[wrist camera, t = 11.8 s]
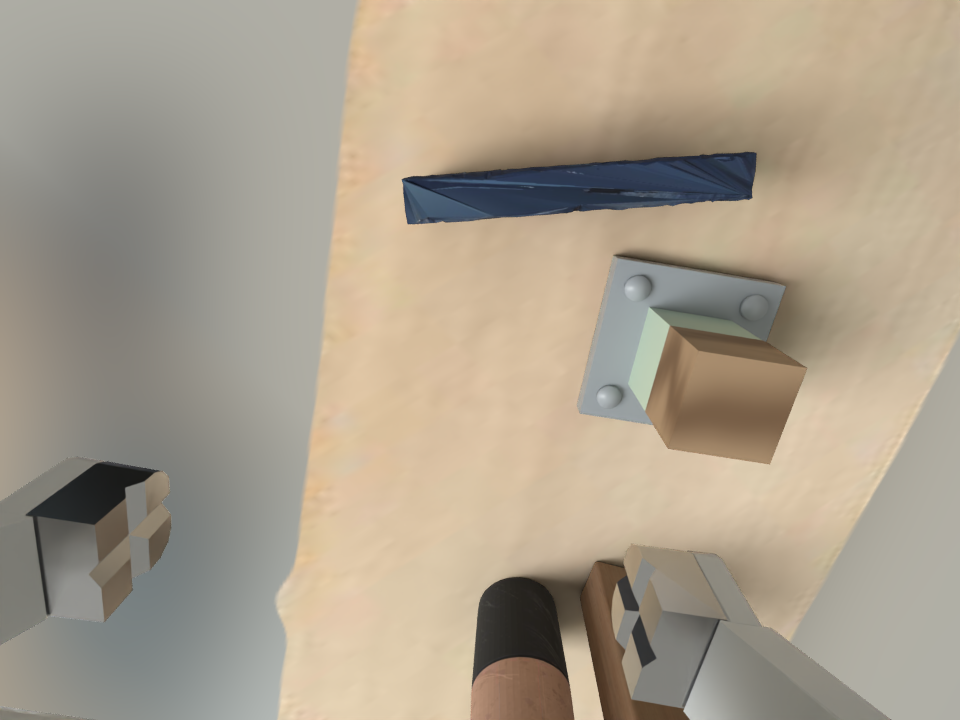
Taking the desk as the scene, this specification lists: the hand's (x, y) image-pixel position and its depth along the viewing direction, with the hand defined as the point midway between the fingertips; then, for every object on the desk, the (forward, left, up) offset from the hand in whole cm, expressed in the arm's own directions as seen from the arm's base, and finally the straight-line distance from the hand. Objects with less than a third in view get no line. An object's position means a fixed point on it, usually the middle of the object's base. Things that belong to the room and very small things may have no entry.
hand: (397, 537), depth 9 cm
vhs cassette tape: (-6, +5, -32) cm, 32 cm away
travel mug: (+31, +9, -31) cm, 45 cm away
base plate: (+4, +16, -31) cm, 35 cm away
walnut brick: (+4, +16, -25) cm, 30 cm away
